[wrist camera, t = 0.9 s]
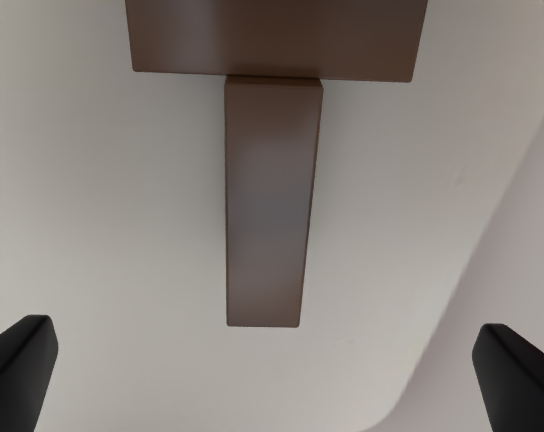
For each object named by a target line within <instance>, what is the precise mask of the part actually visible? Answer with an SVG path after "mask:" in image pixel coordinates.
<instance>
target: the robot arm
mask: <svg viewBox="0 0 544 432" xmlns="http://www.w3.org/2000/svg"><path fill="white" fill-rule="evenodd" d="M57 355H58V341H57V337H56V334H55V330H54V326H53V323H52V320H51V318H50V317H49V316H48V315H27V316H25V317H24V318H22V319H21V320H20V321H18V322H17V323H15V324H14V325H13V326H11V327H10V328H8V329H7V330H6V331H4V332H3V333H1V334H0V432H34V429H35V427H36V424H37V421H38V418H39V415H40V411H41V408H42V405H43V401H44V398H45V395H46V391H47V388H48V385H49V381H50V378H51V375H52V371H53V368H54V365H55V361H56V358H57ZM472 360H473V365H474V368H475V372H476V375H477V379H478V382H479V385H480V389H481V393H482V396H483V400H484V403H485V407H486V411H487V414H488V417H489V421H490V424H491V427H492V430H493V432H544V353H543V352H542V351H540V350H539V349H538V348H536V347H535V346H534V345H532V344H531V343H530V342H528V341H527V340H526V339H524V338H523V337H521V336H520V335H519V334H517V333H516V332H515V331H513V330H512V329H511V328H509V327H508V326H506V325H504V324H492V323H490V324H489V323H487V324H484V325H483V326H482V327H481V329H480V332H479V335H478V337H477V340H476V342H475V345H474V348H473V351H472Z"/></svg>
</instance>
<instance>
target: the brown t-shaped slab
mask: <svg viewBox="0 0 544 432" xmlns="http://www.w3.org/2000/svg"><path fill="white" fill-rule="evenodd" d="M427 2H428V0H125V5H126V14H127V23H128V32H129V41H130V50H131V59H132V68H133V71H135V72H153V73H179V74H204V75H227V76H226V80H225V84H224V114H225V214H226V315H227V325H228V326H238V327H291V328H297V327H299V323H300V313H301V304H302V294H303V284H304V274H305V265H306V255H307V245H308V236H309V226H310V216H311V206H312V197H313V187H314V177H315V168H316V158H317V148H318V139H319V129H320V119H321V109H322V100H323V90H324V89H323V86H322V84H321V81H320V79H329V80H354V81H379V82H405V83H409V82H411V81H412V77H413V72H414V67H415V62H416V57H417V52H418V47H419V42H420V37H421V32H422V27H423V22H424V17H425V12H426V7H427Z"/></svg>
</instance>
